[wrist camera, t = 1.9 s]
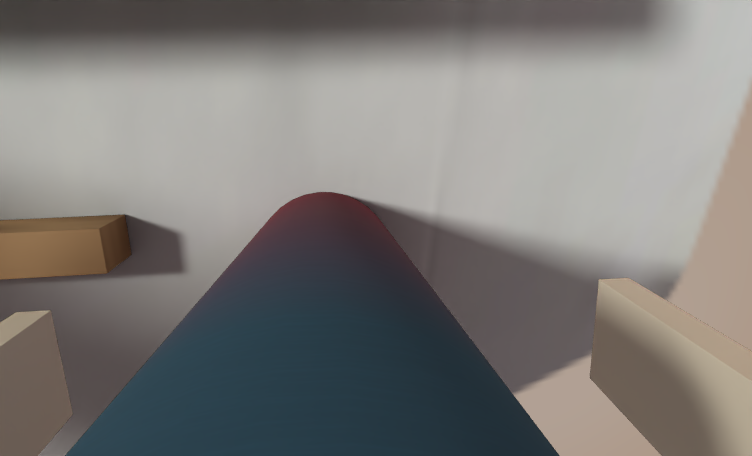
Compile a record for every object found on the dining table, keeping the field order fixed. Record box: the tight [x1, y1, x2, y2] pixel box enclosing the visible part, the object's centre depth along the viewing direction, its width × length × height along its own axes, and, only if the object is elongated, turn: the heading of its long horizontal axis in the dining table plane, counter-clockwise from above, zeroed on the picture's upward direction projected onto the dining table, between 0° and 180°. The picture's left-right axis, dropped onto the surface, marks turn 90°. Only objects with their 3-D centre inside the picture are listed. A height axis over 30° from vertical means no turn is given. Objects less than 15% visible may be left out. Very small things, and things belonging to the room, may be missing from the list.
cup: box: [65, 192, 559, 456], centre depth 11 cm, size 7×7×15 cm
